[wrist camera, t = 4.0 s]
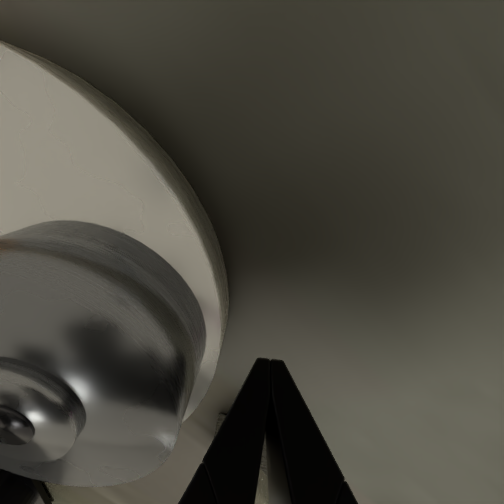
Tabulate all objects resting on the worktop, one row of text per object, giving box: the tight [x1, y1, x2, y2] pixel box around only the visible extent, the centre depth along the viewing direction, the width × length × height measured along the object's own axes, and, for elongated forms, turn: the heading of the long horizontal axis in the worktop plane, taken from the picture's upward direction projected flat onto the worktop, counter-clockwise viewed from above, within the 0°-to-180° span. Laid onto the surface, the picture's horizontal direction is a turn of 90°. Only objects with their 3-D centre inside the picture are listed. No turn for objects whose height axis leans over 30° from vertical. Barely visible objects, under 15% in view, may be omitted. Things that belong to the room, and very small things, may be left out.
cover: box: [0, 220, 207, 487], centre depth 7 cm, size 8×8×4 cm
